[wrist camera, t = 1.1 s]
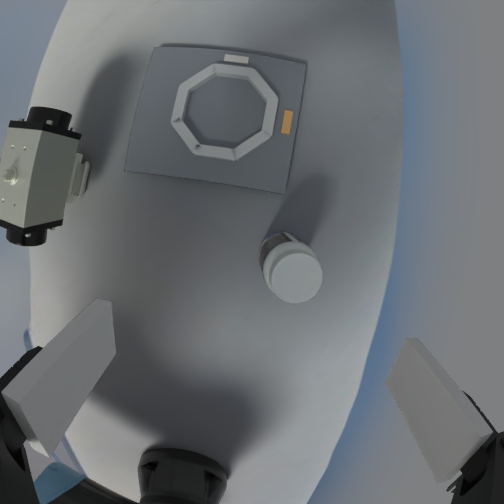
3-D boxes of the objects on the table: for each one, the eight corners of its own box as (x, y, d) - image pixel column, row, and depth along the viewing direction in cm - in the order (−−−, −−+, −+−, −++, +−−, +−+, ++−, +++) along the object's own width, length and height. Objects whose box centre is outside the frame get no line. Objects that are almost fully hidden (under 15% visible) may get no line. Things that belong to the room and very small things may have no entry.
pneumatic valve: (107, 128, 25) (41, 101, 14) (83, 232, 28) (13, 255, 16) (69, 123, 25) (1, 101, 13) (48, 221, 27) (-22, 238, 15)
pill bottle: (256, 275, 29) (262, 307, 21) (260, 229, 28) (268, 245, 20) (301, 278, 30) (322, 309, 21) (307, 233, 29) (332, 250, 20)
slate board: (283, 194, 28) (286, 194, 26) (128, 171, 27) (120, 170, 24) (304, 68, 25) (308, 60, 23) (157, 51, 24) (152, 42, 22)
